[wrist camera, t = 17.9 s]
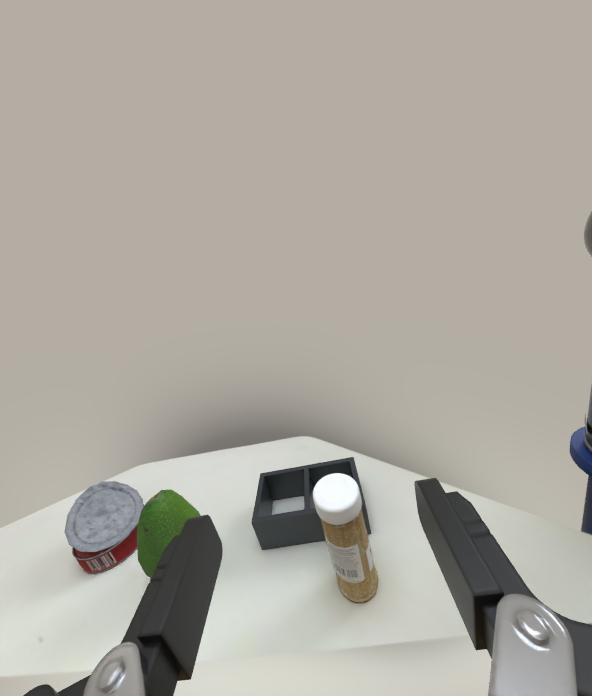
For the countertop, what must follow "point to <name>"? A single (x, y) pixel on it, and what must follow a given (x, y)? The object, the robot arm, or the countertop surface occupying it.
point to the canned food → (104, 525)
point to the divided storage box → (303, 522)
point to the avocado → (160, 526)
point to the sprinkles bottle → (346, 535)
